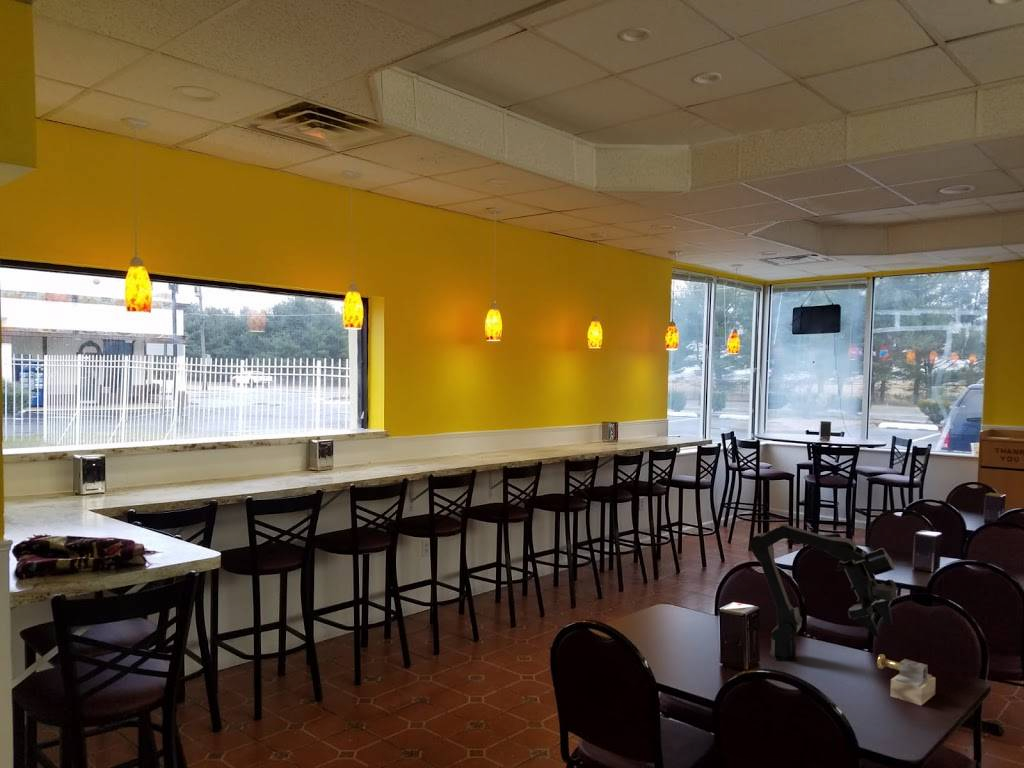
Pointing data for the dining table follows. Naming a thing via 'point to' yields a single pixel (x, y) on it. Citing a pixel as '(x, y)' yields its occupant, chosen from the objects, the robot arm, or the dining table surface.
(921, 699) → the hinge block
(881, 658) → the pin
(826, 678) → the dining table surface
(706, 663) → the dining table surface
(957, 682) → the dining table surface
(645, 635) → the dining table surface
